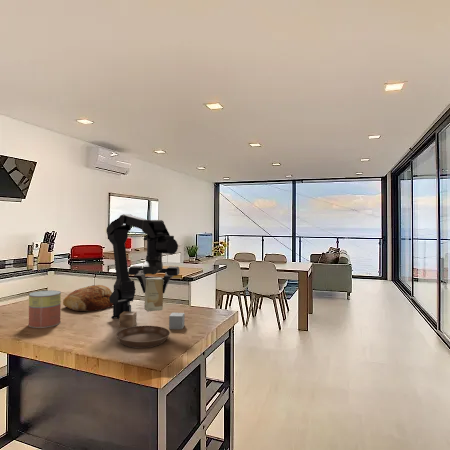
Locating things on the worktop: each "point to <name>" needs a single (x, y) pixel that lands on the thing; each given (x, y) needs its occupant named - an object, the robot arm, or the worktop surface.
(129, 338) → the plant saucer
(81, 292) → the bread
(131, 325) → the walnut block
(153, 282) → the skincare box
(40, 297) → the canned food
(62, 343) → the worktop surface
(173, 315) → the slate grey block
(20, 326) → the worktop surface
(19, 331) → the worktop surface
